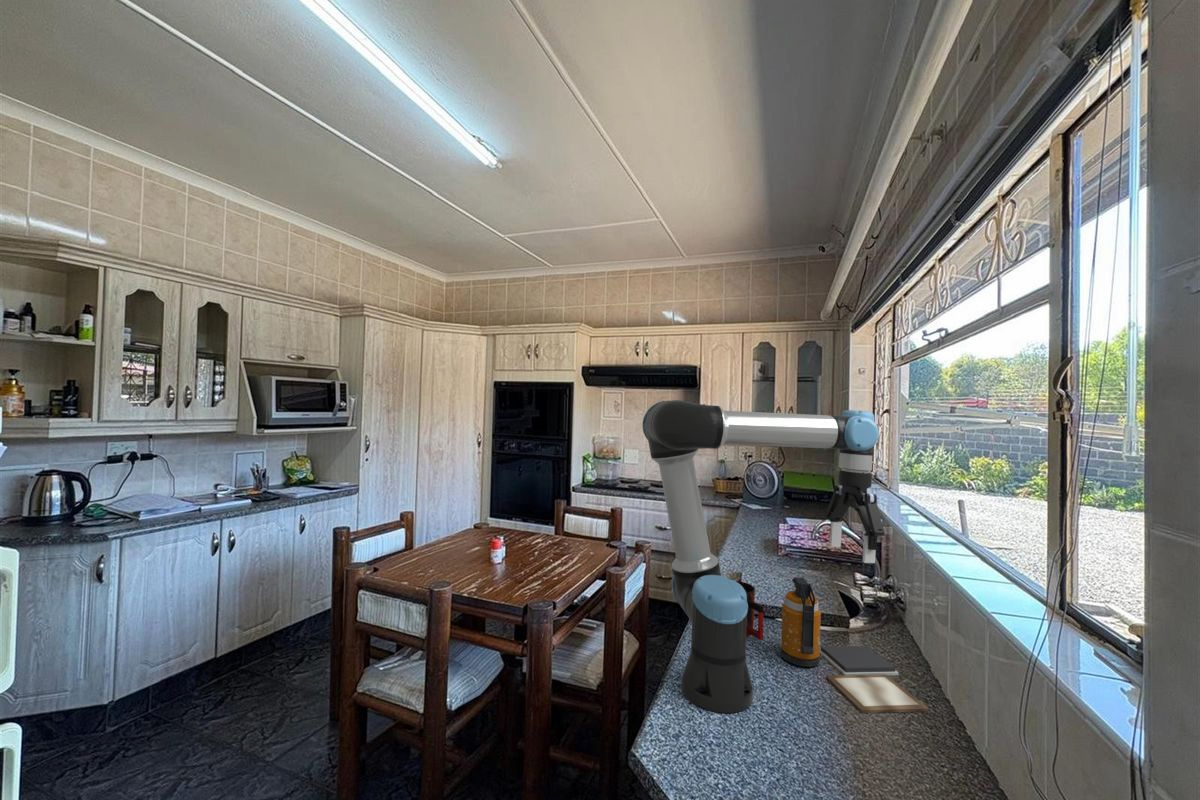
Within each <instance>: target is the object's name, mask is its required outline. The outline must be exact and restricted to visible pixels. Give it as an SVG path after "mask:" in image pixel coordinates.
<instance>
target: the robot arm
mask: <svg viewBox="0 0 1200 800" xmlns="http://www.w3.org/2000/svg"><path fill="white" fill-rule="evenodd" d="M641 426H642V432H643V434H644V436H645V438H646V440H647V443H648V448H649V453H650V457H651V460H653V461H654V462H655V463H657V464H658V468H659V472H660V473H659V474H660V479H661V485H662V489H663V493H664V495H663V496H664V499H665V505H666V511H667V516H668V520H669V527H670V531H671V537H672V542H673V547H674V552H675V559H674V560H673V561H672V563H671V568H672V569H671V571H672V574H673V576H672V580H671V581H672V582H671V584H672V585H671V587H672V592H673V595H674V598H675V600H676V602H677V603H678V605H679V606H680V607H681V608H682V609H683V611H684V613H685V615H686V616H687V617H688V619H689V621H690V623H691V637H690V638H691V640H690V642H691V643H690V654H689V656H688V658H687V661H686V664H685V667H684V669H683V672H682V675H681V689H682V690H681V691H682V693H683V694H684V696H685V697H686V698H687V699H688V700H689V701H690V702H691V703H692V704H694V705H696V706H699V707H700V708H702V709H705V710H708V711H711V712H715V713H721V714H722V713H723V714H731V713H733V714H734V713H739V712H743V711H746V710H747V709H749V707H751V706H752V704H753V701H754V685H753V682H752V678H751V675H750V672H749V668H748V665H747V662H746V653H747V636H746V630H747V611H748V604H747V595H746V592H745V590H744V588H743V587H742V586H741V585H740V584H739V583H737V582H736V581H737V580H734V579H730V578H729V577H727V576H723V575H722V572H721V567H720V563H719V562H720V561H719V557H718V556H716V555H715V554H713V553H711V548H710V543H709V542H710V541H709V537H708V531H707V526H706V520H705V515H704V511H703V504H702V501H701V494H700V493H701V492H700V489H699V483H698V478H697V473H696V467H695V462H694V458H695V456H696V454H697V453H698V450H699V449H700V450H701V449H703V450H704V449H711V450H712V449H713V450H714V449H715V450H716V449H719V448H721V447H722V446H723V445H731V446H732V445H733V446H734V445H736V446H757V447H758V446H760V447H787V448H788V447H789V448H813V449H814V448H815V449H831V450H832V449H834V450H835V449H836V450H837V449H838V450H839V458H838V468H839V469H841V470H839V471H838V480H837V481H838V484H839V485H834V486H833V493H832V495H831V498H830V500H829V504H828V506H827V509H826V512H825V514H824V515H825V517H826V518H828V520H829V521H830V526H829V527H830V528H829V533H830V535H829V547H831V548H841V547H842V531H843V520H842V518H843V517H844V515H845V514H846V512H847V511H848V510H849V508H851V509H853V510H854V511H855V512H857V514H858V517H859V519H860V521H861V524H862V527H863V528H864V531H865V533H864V534H863V545H862V546H863V548H862V563H865V564H876V552H877V548H878V547H877V545H878V537H880V536H883V537H884V536H885V534H886V533H885V529H884V525H883V521H882V517H881V513H880V509H879V507H878V497H877V494H875V493H868V489H870V488H871V487H872V480H873V474H872V473H871V471H872V470H873V453H874V446H876V444H877V443H878V440H879V435H880V434H879V432H880V431H879V427H878V426H877V424H876V423H875V414H874V413H873V412H872V411H869V410H853V409H852V410H850V409H849V410H848V409H847V410H846V409H845V410H843V411H842V412H841V415H829V414H828V415H826V414H825V415H824V414H809V413H807V414H805V413H786V412H783V413H782V412H765V411H762V412H761V411H742V410H741V411H740V410H724V408H722V407H721V406H720V405H711V404H701V403H695V402H691V401H685V400H680V399H679V400H678V399H673V400H662V401H658V402H656V403H654V404H653V405H652V406H650V407H649V408H648V409H647V411H646V412H645V414H644V416H643V419H642V424H641Z"/></svg>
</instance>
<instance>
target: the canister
mask: <svg viewBox="0 0 1200 800" xmlns="http://www.w3.org/2000/svg"><path fill="white" fill-rule="evenodd" d="M792 583H793V584H794V585H793V586H794V588H795V589H794V590H790V591H787V592H786V593H785V595H784V602H783V604H782V605H781V634H780V635H781V636H780V637H781V640H780V644H781V645H780V655H781V657H783V659H784V660H786V661H788V662H789V663H792V664H793V665H796V666H800V667H815V666H818V665H819V664H820V660H821V659H820V658H821V657H820V656H821V654H820V649H821V625H822V623H821V622H822V621H821V618H822V617H821V615H822V613H821V610H820V609H819V600H818V599H820V596H819V595H818V594H816V593H814V591H813V588H812V584H811V583H808V582H807V581H806V579H805V578H804V577H797V576H796V577H793V578H792Z"/></svg>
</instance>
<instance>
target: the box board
mask: <svg viewBox="0 0 1200 800" xmlns="http://www.w3.org/2000/svg"><path fill="white" fill-rule="evenodd" d="M825 679H826V680H827V681H828V682H829V683H830V684H831V685H832V686H833V687H834V688H835V689H836V690H837V691H838V692H840V694H841V695H843V696H844V698H846V699H847V700H848V701H849V702H850V704H852V705H853V706H854V707H855V708H856V709H857V710H858V711H859V712H860V713H861V714H881V713H882V714H883V713H886V714H887V713H915V712H919V713H921V712H930V708H929V707H928V706H927V705H925V704H924V703H923V702H922V701H920V700H919V699H918V698H916V697H915V696H914V695H913V694H911V693H910V692H909V691H908V690H906V689H905V688H904V687H902V685H900V684H899V683H897V682H896V681H895V680H894V679H892V678H891V677H890V676H889V675H843V674H842V675H825Z"/></svg>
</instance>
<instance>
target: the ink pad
mask: <svg viewBox="0 0 1200 800" xmlns="http://www.w3.org/2000/svg"><path fill="white" fill-rule="evenodd" d="M820 656H822V657H823V658H824V659H825V660H827V662H829V663H830V664H831V665H832V666H833V667H834V668H835V669H836V670H837V671H839V672H840V673H841V674H842V675H887V676H899V675H900V674H899V672H898V670H897V669H896V666H894V665H892V664H891V663H890V662H889V661H887V660H886V659H885V658H884V657H882V656H881V655H879V654H878V653H877V652H876V651H874V650H873V649H872V648H870V647H869V646H867V645H844V646H843V645H833V646H831V645H830V646H828V645H827V646H823V645H822V646H821V645H820Z"/></svg>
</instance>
